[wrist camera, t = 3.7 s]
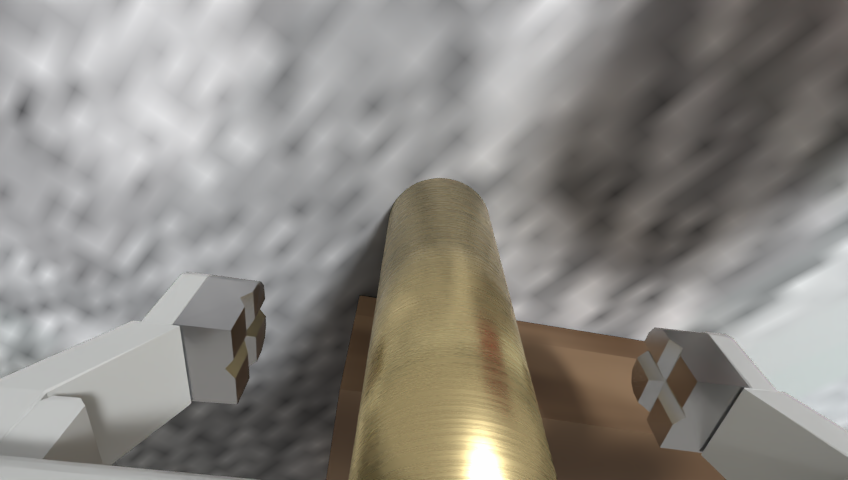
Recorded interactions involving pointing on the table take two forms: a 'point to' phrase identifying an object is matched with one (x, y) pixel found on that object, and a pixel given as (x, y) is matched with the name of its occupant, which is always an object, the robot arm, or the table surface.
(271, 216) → the table surface
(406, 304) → the pin
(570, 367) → the socket block
